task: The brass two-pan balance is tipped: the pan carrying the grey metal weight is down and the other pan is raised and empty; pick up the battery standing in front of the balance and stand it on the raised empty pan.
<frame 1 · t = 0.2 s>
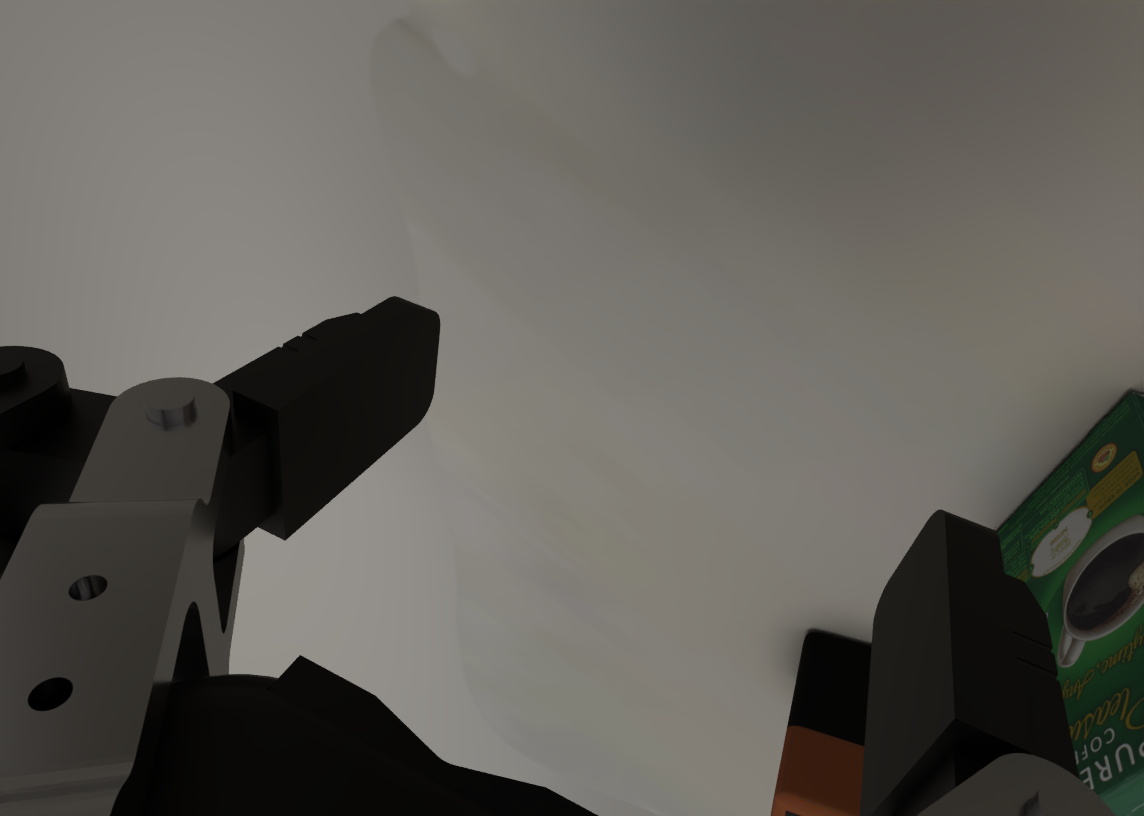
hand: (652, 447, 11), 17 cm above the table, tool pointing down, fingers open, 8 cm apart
coffee box: (1087, 481, 26), on the table
battery: (873, 671, 35), on the table
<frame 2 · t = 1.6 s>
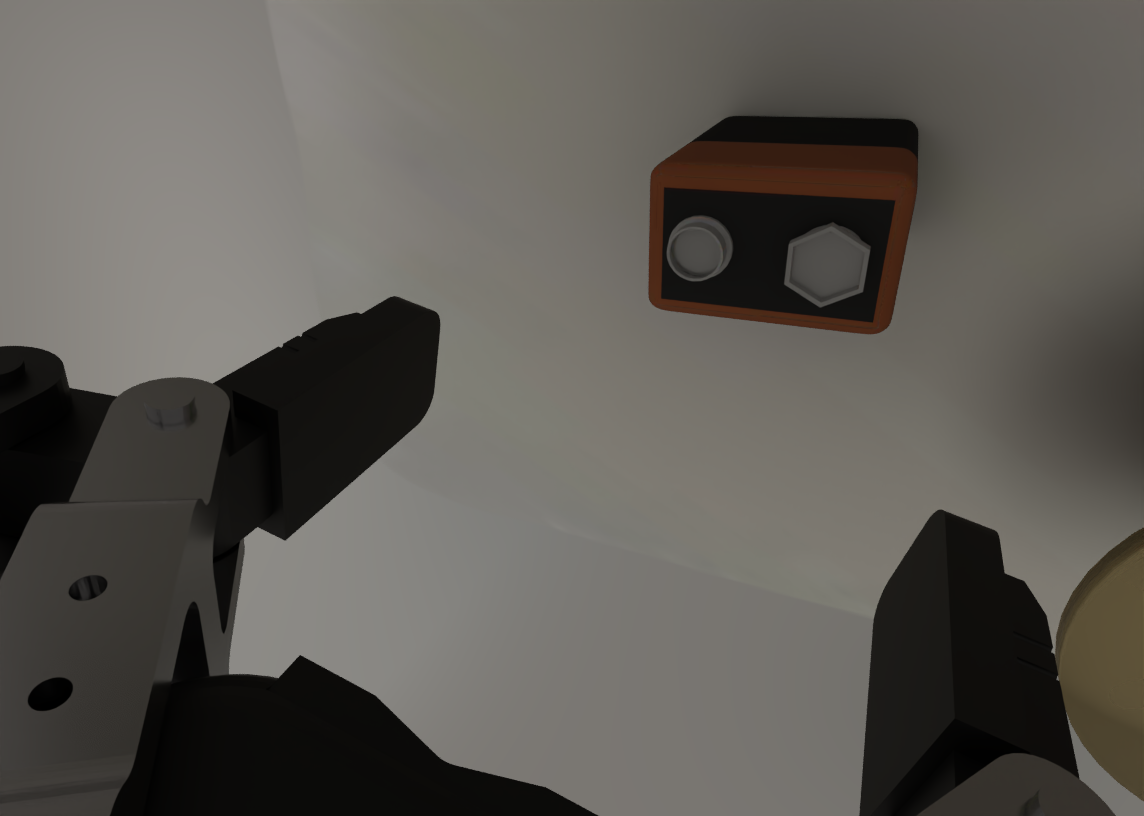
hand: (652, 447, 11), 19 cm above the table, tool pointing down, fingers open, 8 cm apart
battery: (809, 177, 27), on the table
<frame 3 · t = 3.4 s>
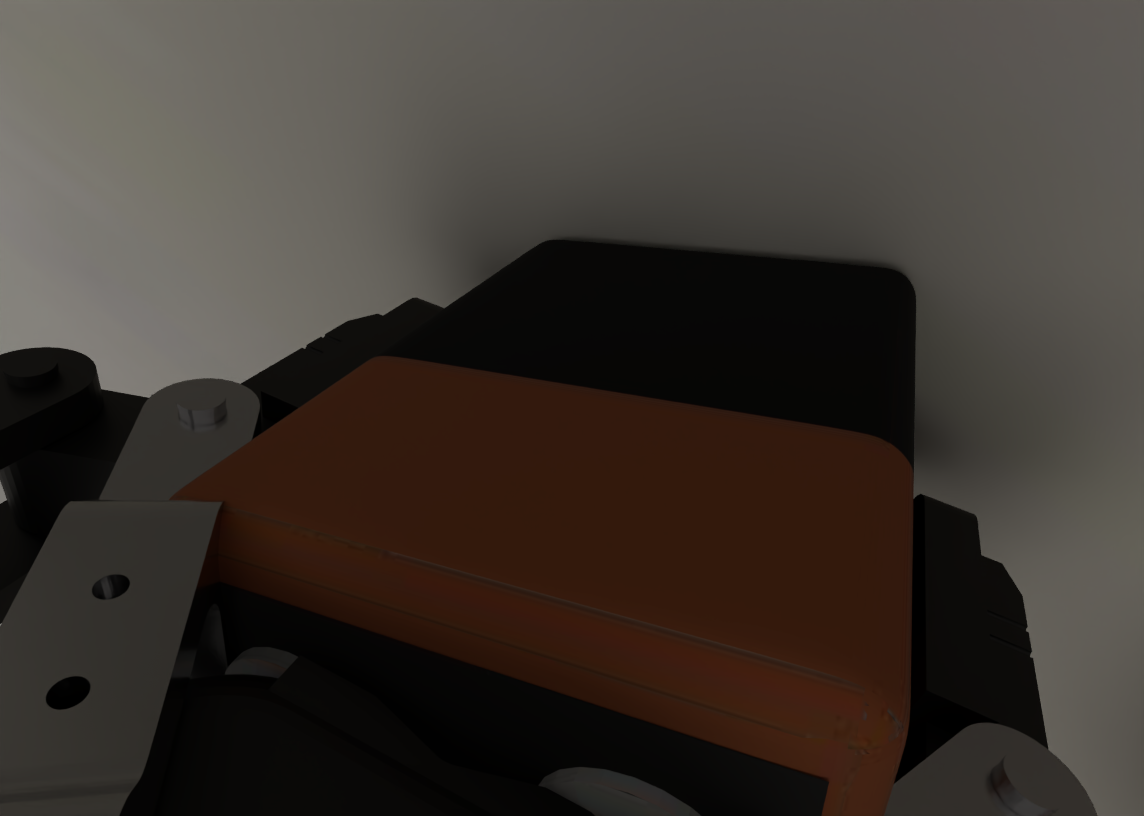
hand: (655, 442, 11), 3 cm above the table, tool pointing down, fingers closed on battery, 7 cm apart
battery: (707, 351, 14), on the table, touching gripper
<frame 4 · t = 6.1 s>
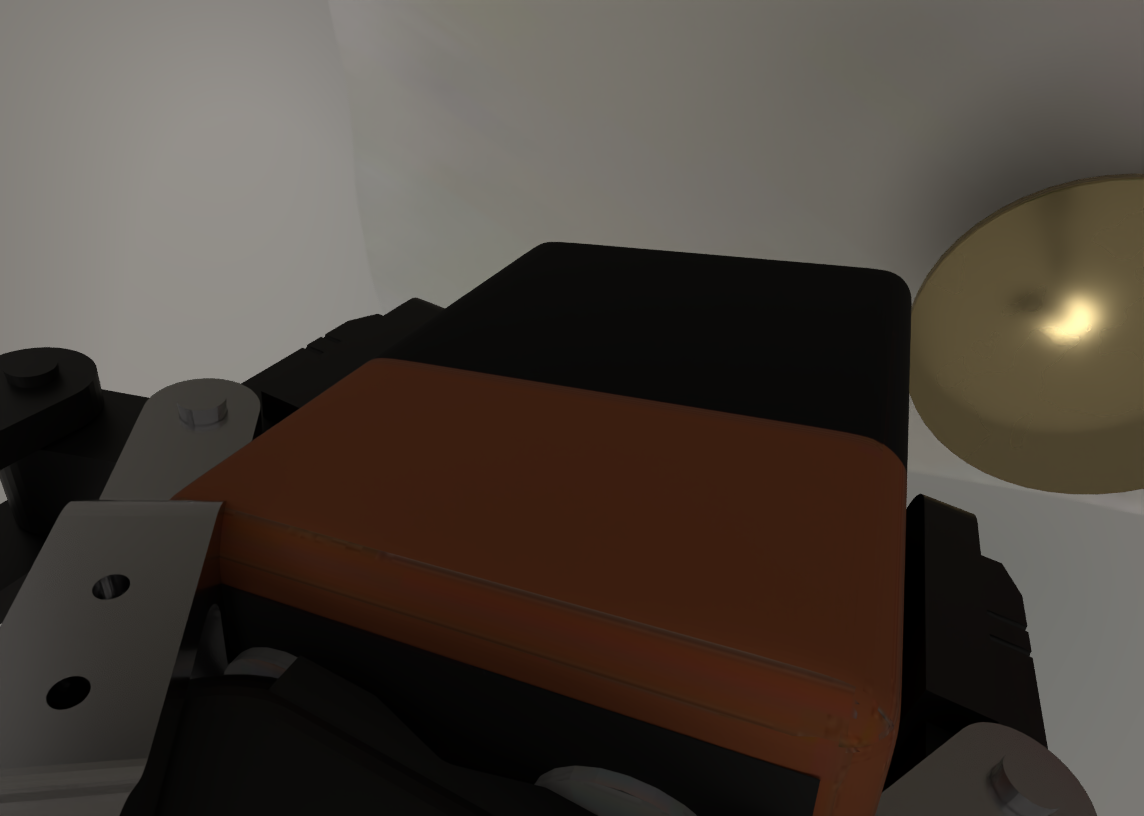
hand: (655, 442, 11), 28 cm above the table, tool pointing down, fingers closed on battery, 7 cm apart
battery: (705, 353, 14), point 25 cm above the table, touching gripper
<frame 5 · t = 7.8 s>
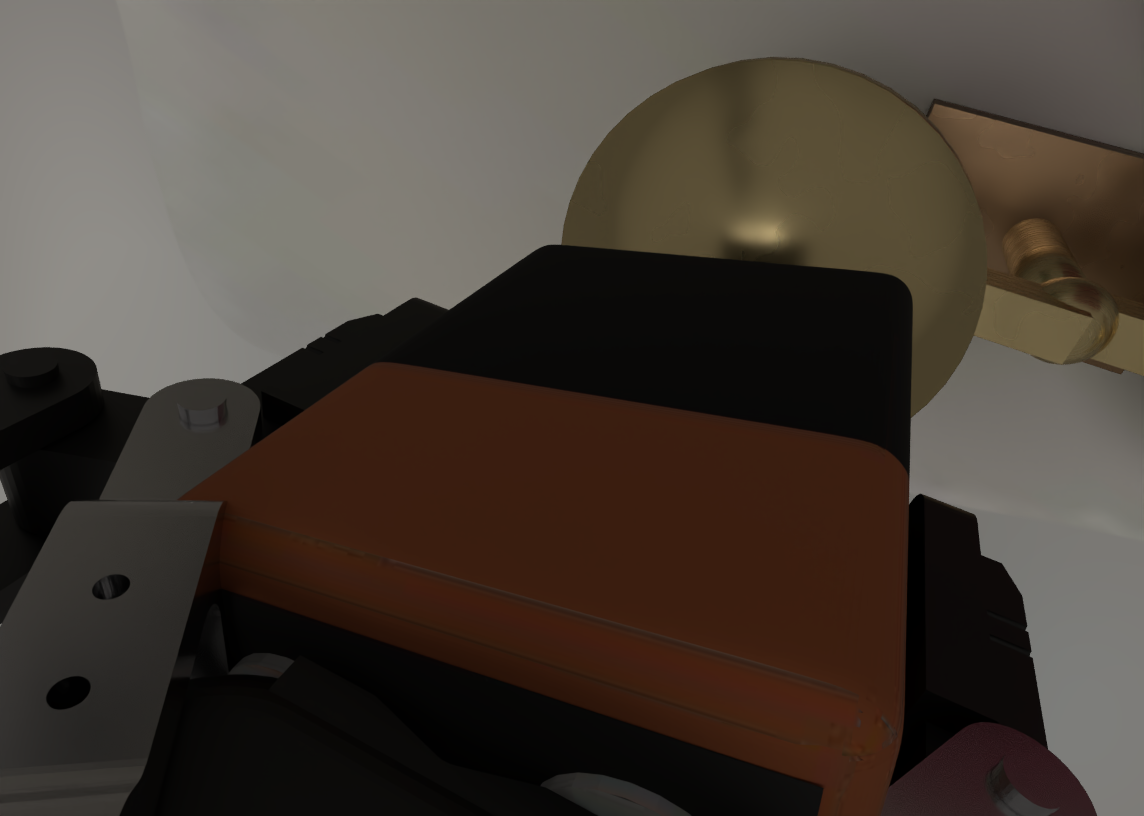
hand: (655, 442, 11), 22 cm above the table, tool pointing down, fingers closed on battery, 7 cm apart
battery: (706, 355, 14), point 18 cm above the table, touching gripper
balance: (1026, 232, 27), on the table
when the fingers open (18 cm above the table, at t = 9.1 s): battery drops 1 cm, resting on balance.
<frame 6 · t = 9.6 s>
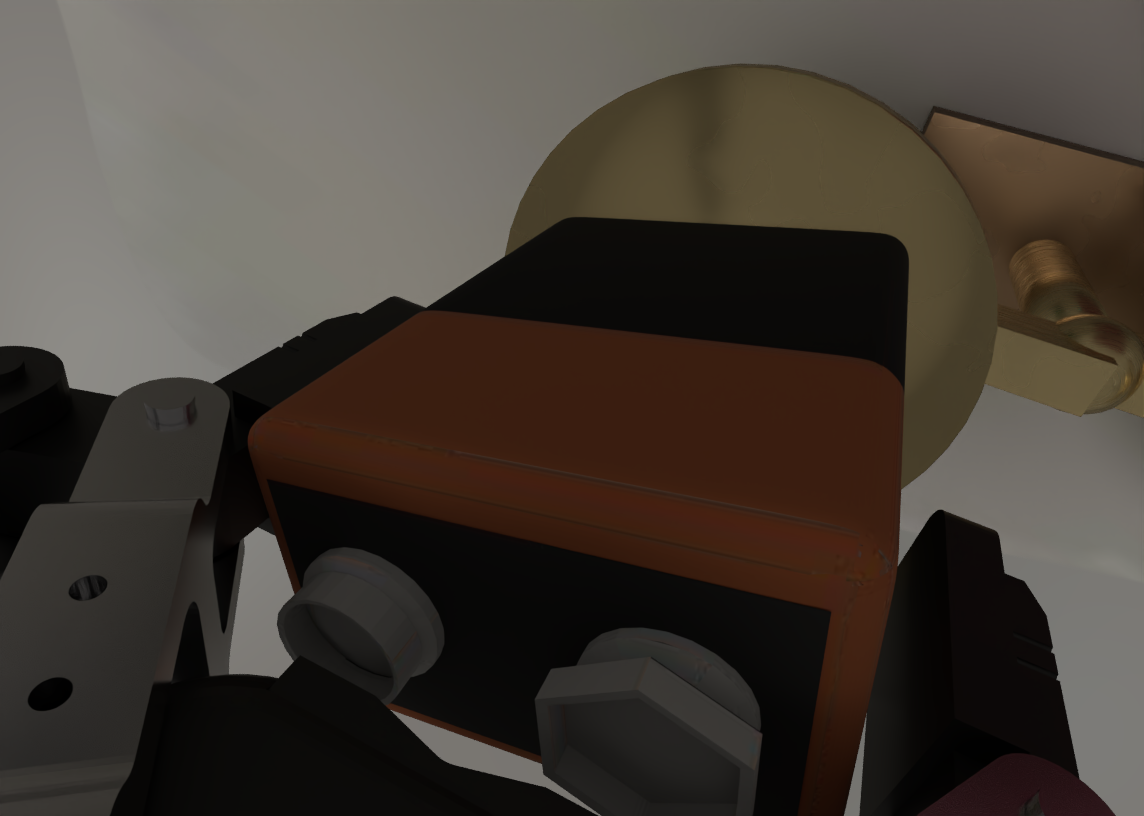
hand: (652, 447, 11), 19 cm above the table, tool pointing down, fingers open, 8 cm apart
battery: (717, 319, 15), point 14 cm above the table, touching balance
balance: (1034, 253, 24), on the table
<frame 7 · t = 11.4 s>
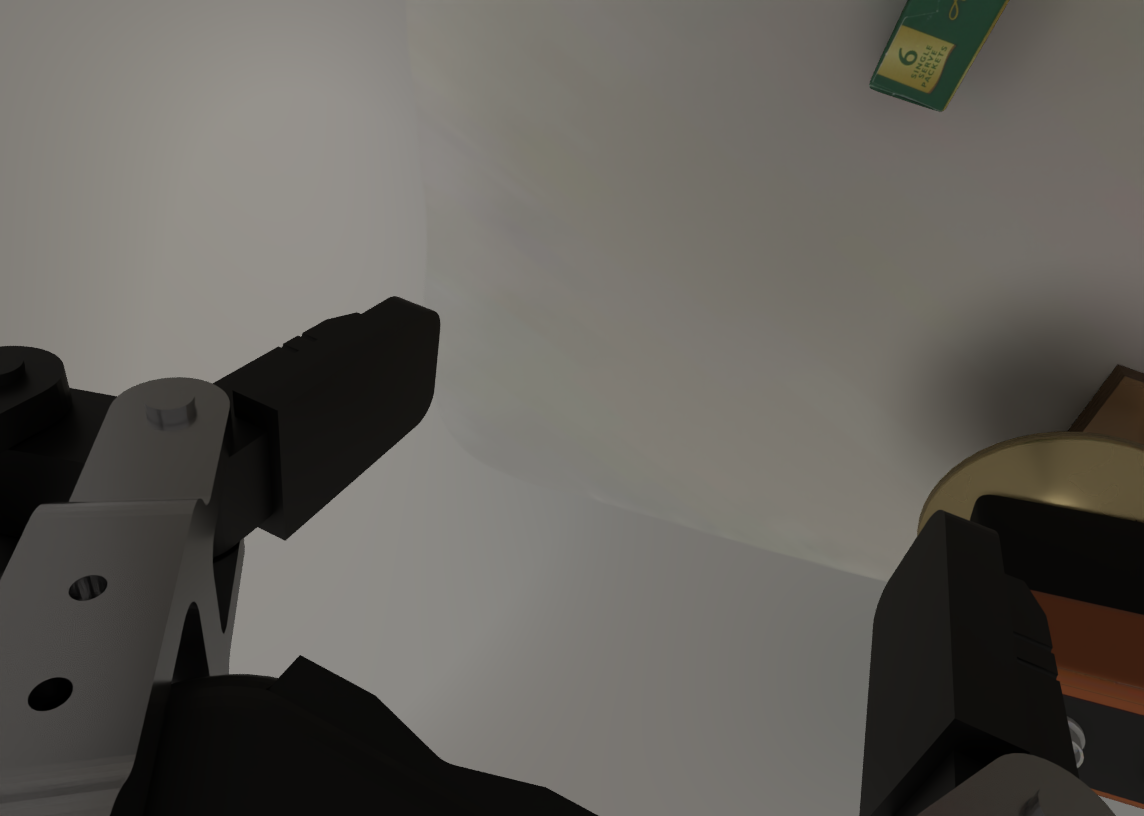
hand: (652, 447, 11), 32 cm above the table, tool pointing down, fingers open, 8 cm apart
battery: (1061, 549, 27), point 14 cm above the table, touching balance
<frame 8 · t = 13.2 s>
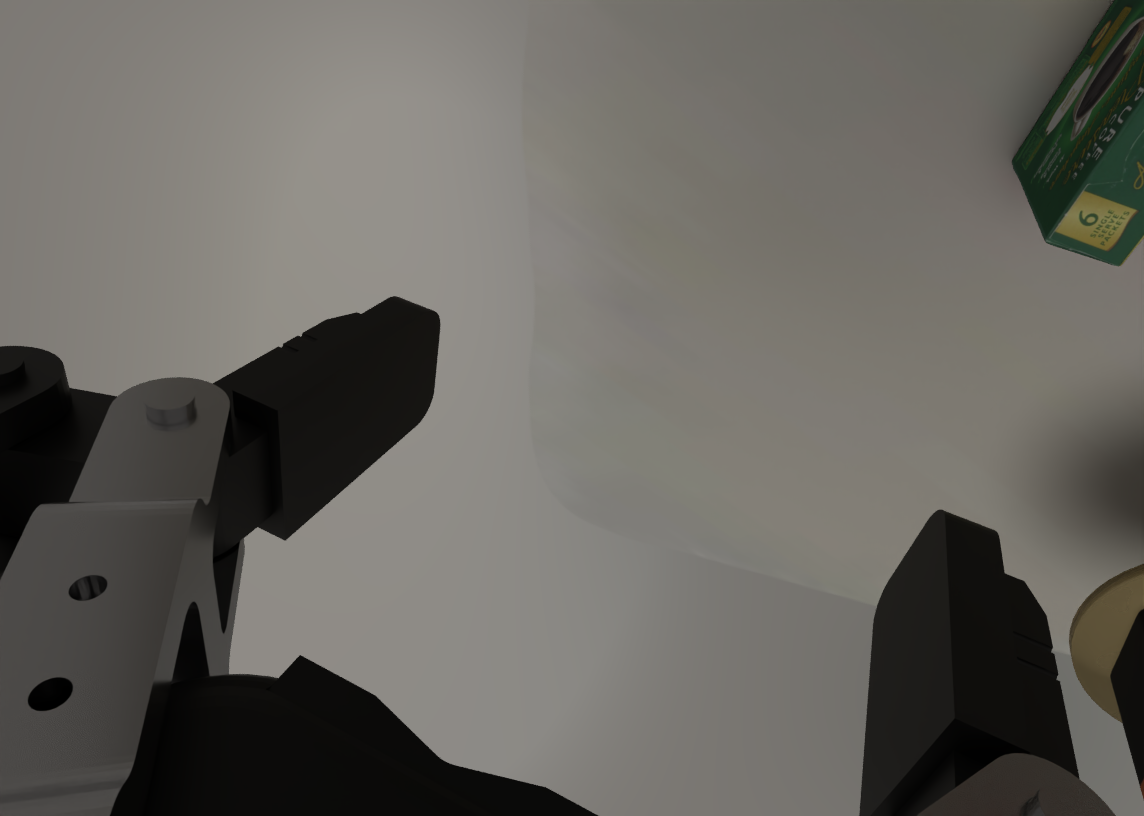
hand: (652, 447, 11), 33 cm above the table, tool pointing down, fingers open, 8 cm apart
coffee box: (1087, 93, 33), on the table
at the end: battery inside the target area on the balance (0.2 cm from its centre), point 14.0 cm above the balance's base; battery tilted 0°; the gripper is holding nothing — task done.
